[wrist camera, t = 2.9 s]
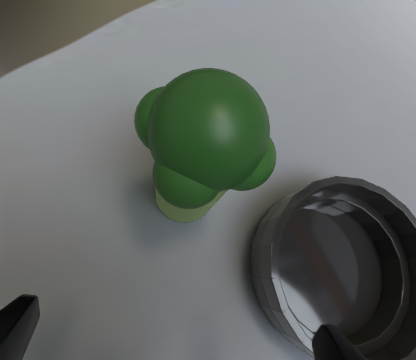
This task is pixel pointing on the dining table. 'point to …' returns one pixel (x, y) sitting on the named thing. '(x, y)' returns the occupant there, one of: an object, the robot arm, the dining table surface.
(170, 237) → the dining table surface
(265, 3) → the dining table surface
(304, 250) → the pan
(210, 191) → the broccoli
